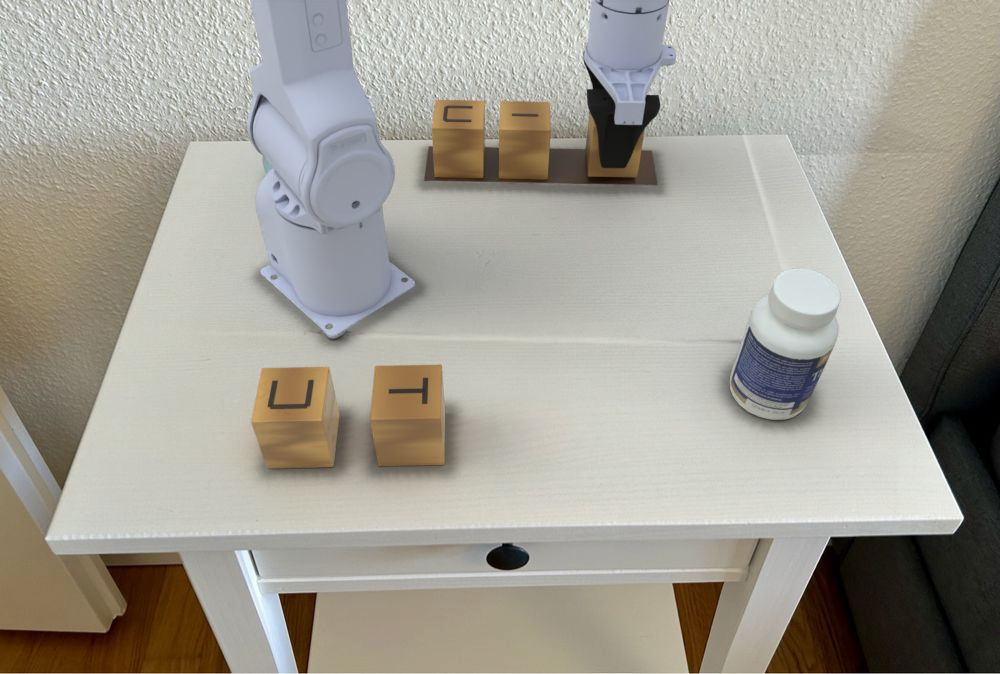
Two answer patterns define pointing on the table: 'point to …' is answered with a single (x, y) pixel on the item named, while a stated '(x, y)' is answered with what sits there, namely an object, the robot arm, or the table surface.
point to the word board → (555, 169)
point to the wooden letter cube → (594, 159)
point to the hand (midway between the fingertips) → (611, 149)
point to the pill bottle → (786, 345)
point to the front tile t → (408, 415)
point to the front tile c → (296, 417)
